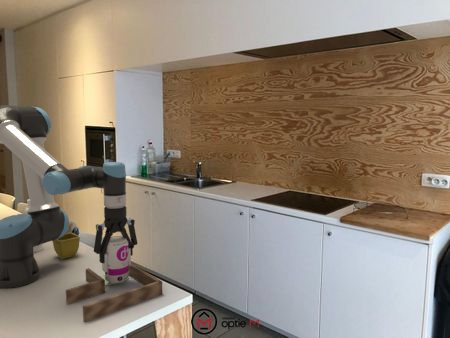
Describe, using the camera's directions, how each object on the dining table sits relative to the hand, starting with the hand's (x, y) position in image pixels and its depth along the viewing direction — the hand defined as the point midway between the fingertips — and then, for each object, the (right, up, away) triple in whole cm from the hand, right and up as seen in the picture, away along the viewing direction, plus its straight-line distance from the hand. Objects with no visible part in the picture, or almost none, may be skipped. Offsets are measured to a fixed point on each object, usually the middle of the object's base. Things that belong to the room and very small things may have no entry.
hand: (116, 267), depth 132 cm
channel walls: (-2, -7, -6) cm, 9 cm away
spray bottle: (-48, -2, +35) cm, 59 cm away
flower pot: (-30, -3, +27) cm, 41 cm away
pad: (-4, -5, +5) cm, 8 cm away
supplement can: (0, -4, +1) cm, 4 cm away
